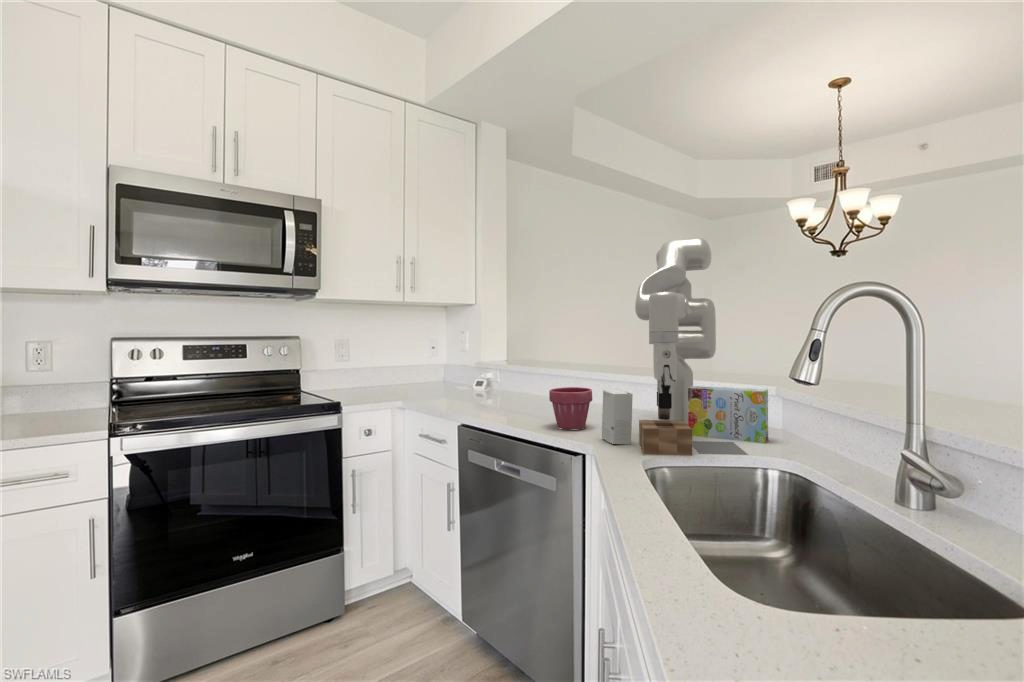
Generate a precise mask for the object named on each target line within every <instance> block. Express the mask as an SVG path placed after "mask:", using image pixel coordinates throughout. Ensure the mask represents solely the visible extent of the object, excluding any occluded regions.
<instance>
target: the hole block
mask: <svg viewBox="0 0 1024 682" xmlns="http://www.w3.org/2000/svg"><path fill="white" fill-rule="evenodd" d="M638 432H639V433H638V437H639V438H638V440H639V441H638V444H639V448H640V447H641V448H640V450H641V453H642V455H643V454H644V455H650V456H651V455H654V456H659V455H660V456H662V455H663V456H691V457H692V456H693V446H692V441H693V436H692V429H691V428H690V427H689V426H688V425H687V424H686V423H685V422H684V421H678V420H659V419H658V420H657V419H639V420H638Z"/></svg>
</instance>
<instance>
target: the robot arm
mask: <svg viewBox="0 0 1024 682" xmlns="http://www.w3.org/2000/svg"><path fill="white" fill-rule="evenodd" d="M655 261H656V266H657V267H656V270H655V271H653V272H652V273H651V274H649V275H648V276H647V277H646V278H644V279H643V280H642V281H641V282H640V284H639V286H638V289H637V294H636V298H635V306H634V307H635V309H634V311H635V314H636V317H637V318H638V319H640V320H642V321H648V344H649V345H652V346H653V349H652V351H653V354H652V355H653V357H652V358H653V361H652V362H653V377H654V379H655V380H656V389H657V391H656V406H657V407H658V381H659V382H660V393H659V408H660V409H670V419H669V420H678V421H684V422H685V423H686V424H687V425H688V388H689V387H692V386H694V373H693V369H692V367H691V366H690V365H689V364H688V363H687V362H686V360H702V359H703V360H705V359H706V360H709V359H712V358H713V357H714V356H715V355H716V350H717V349H716V348H717V347H716V346H717V342H716V341H717V340H716V339H717V334H716V333H717V329H716V324H717V323H716V322H717V321H716V308H715V304H714V302H713V301H712V300H711V299H710V298H706V297H704V298H702V297H699V298H698V297H697V298H693V297H692V283H691V282H690V280H689V279H688V278H687V272H690V271H704V270H707V269H708V268H710V265H711V263H712V250H711V248H710V245H709V242H708V241H707V240H705V239H704V238H702V237H693V238H681V239H680V238H679V239H672V240H669V241H666V242H664V243H663V244H662V246H661V247H660V249H659V250H658V251H657V252H656V255H655ZM682 327H683V328H691V327H693V328H695V327H696V328H697V327H698V328H700V329H701V330H700V329H698V330H696V329H695V330H680V329H679V328H682ZM662 381H664V382H662ZM662 384H663V385H662ZM658 420H661V419H658Z"/></svg>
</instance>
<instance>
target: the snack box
mask: <svg viewBox="0 0 1024 682" xmlns="http://www.w3.org/2000/svg"><path fill="white" fill-rule="evenodd" d="M688 426H689V427H690V428H691V429H692V437H693V436H695V437H700V438H701V437H702V438H711V439H721V440H731V441H738V442H739V441H740V442H747V443H758V444H767V442H768V441H769V390H768V389H765V388H743V387H727V386H723V387H721V386H720V387H719V386H697V385H693V386H692V387H689V388H688Z"/></svg>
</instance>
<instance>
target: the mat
mask: <svg viewBox="0 0 1024 682" xmlns="http://www.w3.org/2000/svg"><path fill="white" fill-rule="evenodd" d="M692 448H693V449H695V451H696V452H697V453H698V455H731V456H732V455H735V456H736V455H737V456H739V455H740V456H741V455H742V456H745V455H746V456H749V453H747V452H746V451H745V450H744V449H742V448H741V447H740V446H739V445H737V444H736V442H733V441H708V440H706V441H704V440H703V441H701V440H696V441H695V440H692Z"/></svg>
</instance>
